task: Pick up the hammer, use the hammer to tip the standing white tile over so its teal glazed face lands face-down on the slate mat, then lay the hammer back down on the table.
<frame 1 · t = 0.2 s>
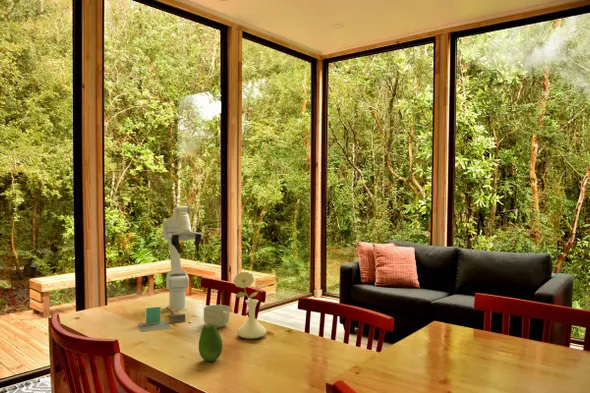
hand: (188, 251, 192), 31 cm above the table, tool tilted 45°, fingers open, 7 cm apart
hammer: (177, 322, 196), on the table
teacup: (217, 327, 189), on the table
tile: (152, 323, 192), resting on mat
mat: (154, 327, 188), on the table
fruit: (210, 361, 151), on the table
flower in vase: (249, 336, 177), on the table
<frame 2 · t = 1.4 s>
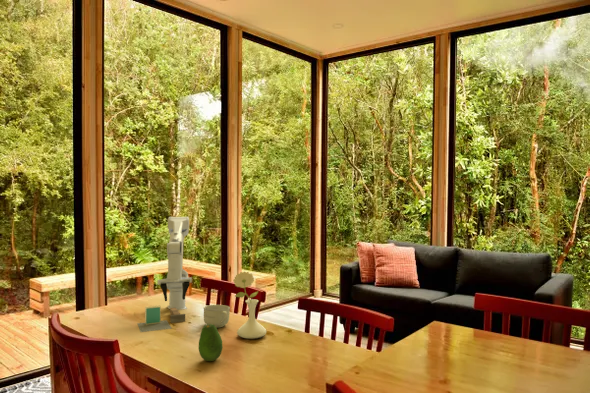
hand: (174, 299, 201), 8 cm above the table, tool pointing down, fingers open, 7 cm apart
nothing on the table moved.
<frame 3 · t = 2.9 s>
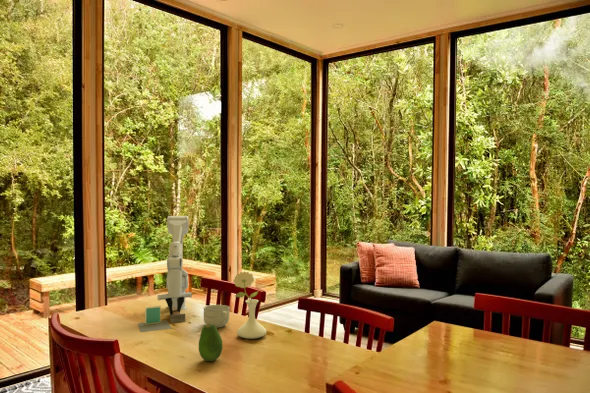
hand: (174, 315, 201), 1 cm above the table, tool pointing down, fingers closed on hammer, 2 cm apart
hammer: (177, 321, 196), on the table, touching gripper
everything else where it was.
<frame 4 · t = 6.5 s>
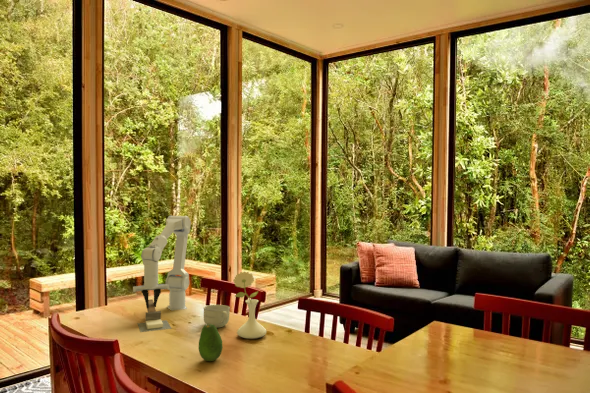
hand: (151, 307, 197), 6 cm above the table, tool pointing down, fingers closed on hammer, 2 cm apart
hammer: (152, 318, 193), point 2 cm above the table, tilted 12°, touching gripper
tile: (153, 321, 191), point 1 cm above the table, tilted 90°, touching mat
everything else where it was.
when the fingers open (3 cm above the table, at t = 10.3 s): hammer stays where it is, on the table.
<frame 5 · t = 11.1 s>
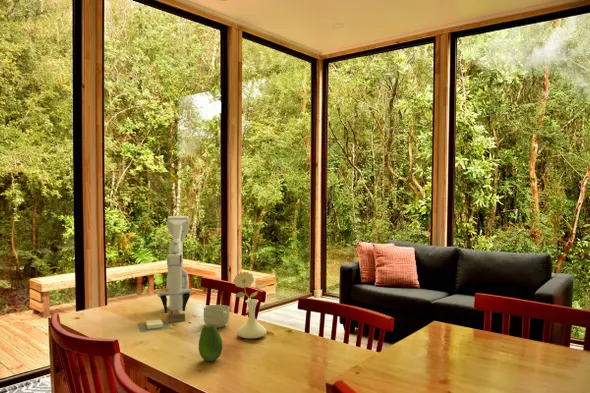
hand: (174, 311, 201), 3 cm above the table, tool pointing down, fingers open, 7 cm apart
hammer: (176, 321, 197), on the table
everything else where it was.
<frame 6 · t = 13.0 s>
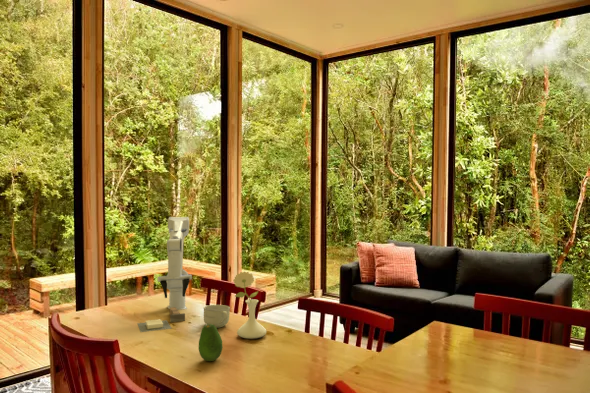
hand: (174, 296, 201), 9 cm above the table, tool pointing down, fingers open, 7 cm apart
nothing on the table moved.
at the end: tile tilted 90°; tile inside the target area (0.1 cm from its centre), point 1.4 cm above the table; hammer inside the target area (0.8 cm from its centre), on the table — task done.
